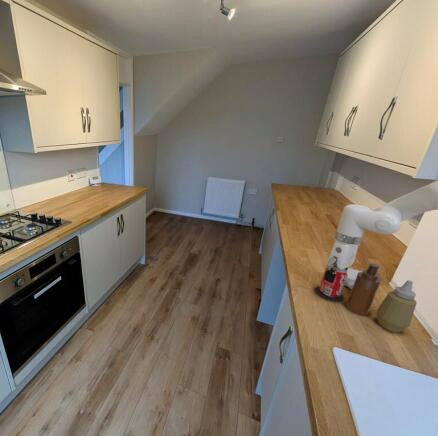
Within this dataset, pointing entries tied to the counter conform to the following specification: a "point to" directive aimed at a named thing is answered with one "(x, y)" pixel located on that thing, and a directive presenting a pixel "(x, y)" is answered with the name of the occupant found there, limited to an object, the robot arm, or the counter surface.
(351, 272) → the charger
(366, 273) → the stoneware bottle
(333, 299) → the coaster
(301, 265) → the counter surface
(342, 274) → the soda can
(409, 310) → the squeeze bottle
